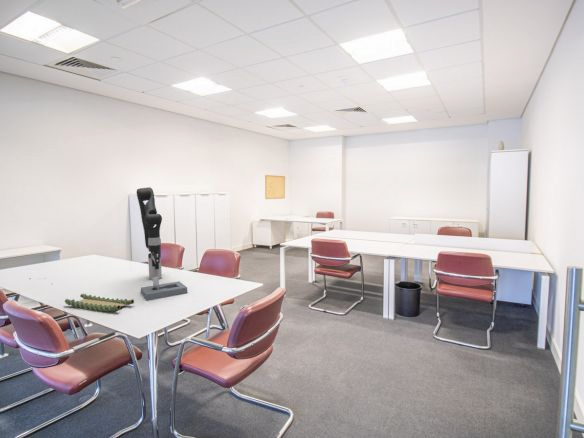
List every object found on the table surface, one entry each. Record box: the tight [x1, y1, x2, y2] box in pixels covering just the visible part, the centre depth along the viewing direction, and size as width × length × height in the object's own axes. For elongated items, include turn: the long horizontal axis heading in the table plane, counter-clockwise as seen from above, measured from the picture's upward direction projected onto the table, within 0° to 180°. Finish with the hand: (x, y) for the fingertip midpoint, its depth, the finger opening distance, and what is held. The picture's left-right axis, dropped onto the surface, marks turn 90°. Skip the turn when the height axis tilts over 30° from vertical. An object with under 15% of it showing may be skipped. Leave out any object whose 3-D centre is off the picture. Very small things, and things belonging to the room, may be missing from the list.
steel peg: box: [152, 276, 160, 290], centre depth 219 cm, size 6×6×12 cm
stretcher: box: [64, 293, 135, 313], centre depth 198 cm, size 41×14×5 cm, turn 73°
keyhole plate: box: [140, 280, 188, 301], centre depth 223 cm, size 18×26×4 cm
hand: (155, 267), depth 218 cm, fingers open, 8 cm apart
